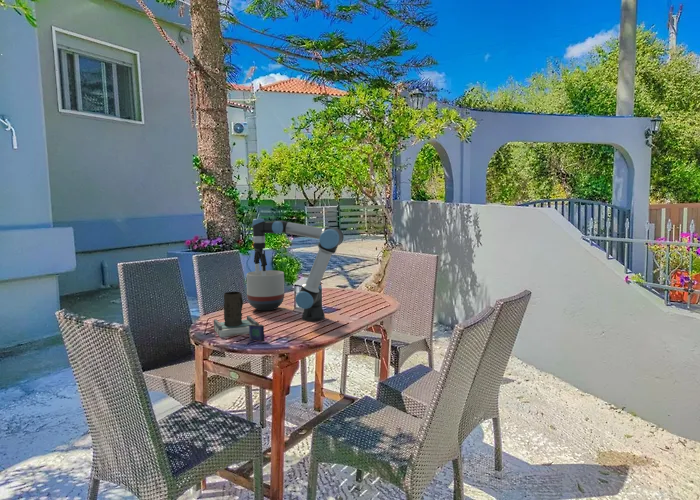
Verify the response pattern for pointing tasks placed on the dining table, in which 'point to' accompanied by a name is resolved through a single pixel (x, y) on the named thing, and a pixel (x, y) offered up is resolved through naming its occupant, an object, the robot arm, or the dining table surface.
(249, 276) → the planter
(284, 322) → the dining table surface
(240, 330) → the tray
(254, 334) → the flask
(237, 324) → the beer stein
